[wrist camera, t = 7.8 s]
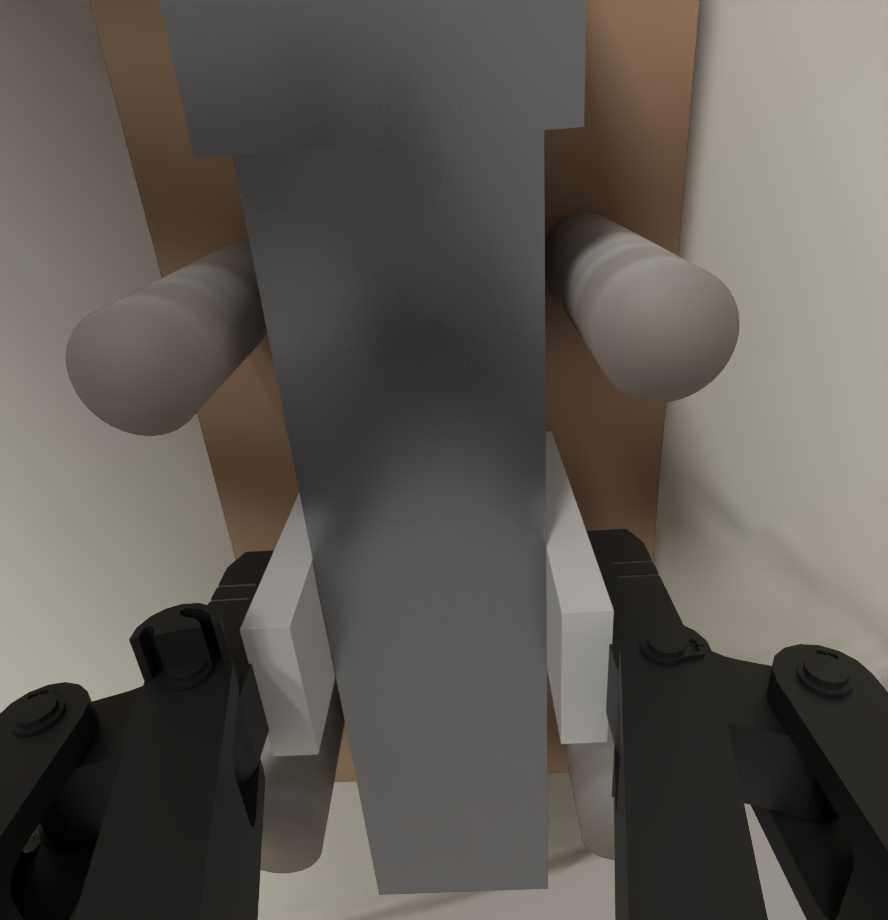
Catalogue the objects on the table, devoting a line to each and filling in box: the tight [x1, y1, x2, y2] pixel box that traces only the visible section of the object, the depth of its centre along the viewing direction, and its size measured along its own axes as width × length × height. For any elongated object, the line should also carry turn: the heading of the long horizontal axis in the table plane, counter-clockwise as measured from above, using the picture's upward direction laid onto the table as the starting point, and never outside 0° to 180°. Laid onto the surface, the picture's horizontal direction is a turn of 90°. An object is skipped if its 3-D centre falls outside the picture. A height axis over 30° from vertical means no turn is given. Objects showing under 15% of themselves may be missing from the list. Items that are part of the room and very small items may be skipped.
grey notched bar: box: [159, 0, 587, 895], centre depth 13 cm, size 20×5×5 cm, turn 4°
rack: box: [66, 0, 739, 873], centre depth 14 cm, size 22×11×8 cm, turn 4°
